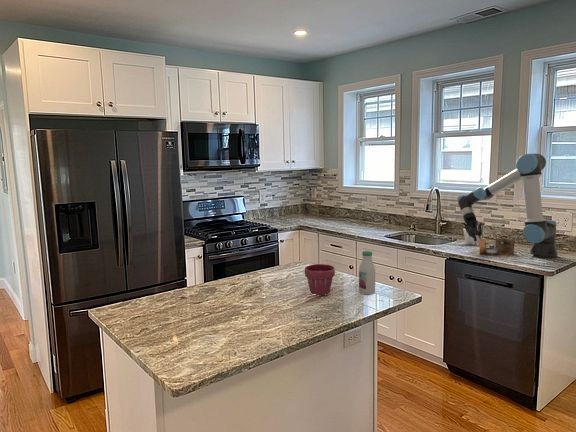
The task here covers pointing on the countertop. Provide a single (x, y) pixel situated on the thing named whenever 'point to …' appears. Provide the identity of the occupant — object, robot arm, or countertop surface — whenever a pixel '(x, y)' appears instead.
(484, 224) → the glass jar
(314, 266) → the plant pot
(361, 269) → the milk bottle
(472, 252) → the stand
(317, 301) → the countertop surface
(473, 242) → the cup
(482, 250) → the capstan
